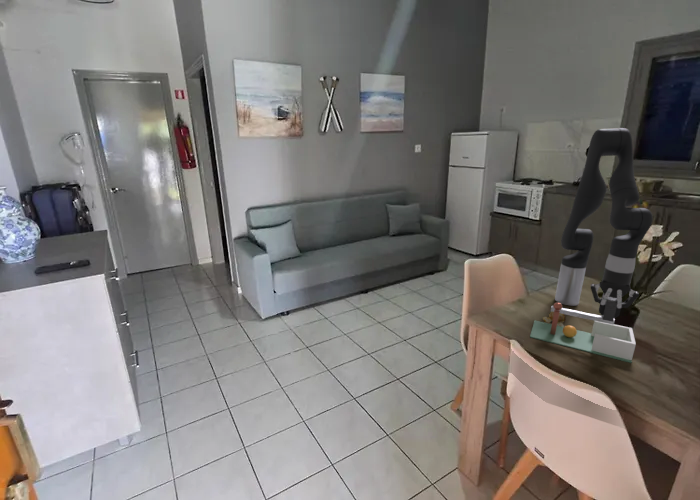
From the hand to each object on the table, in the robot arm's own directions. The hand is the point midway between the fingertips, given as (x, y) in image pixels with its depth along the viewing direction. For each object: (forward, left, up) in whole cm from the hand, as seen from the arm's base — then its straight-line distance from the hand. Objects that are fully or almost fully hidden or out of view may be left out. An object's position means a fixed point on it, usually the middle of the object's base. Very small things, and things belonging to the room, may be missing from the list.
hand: (608, 315), depth 123 cm
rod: (0, -7, -11) cm, 13 cm away
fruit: (-11, -15, -12) cm, 23 cm away
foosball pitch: (0, -7, -12) cm, 14 cm away
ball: (0, -10, -9) cm, 14 cm away
